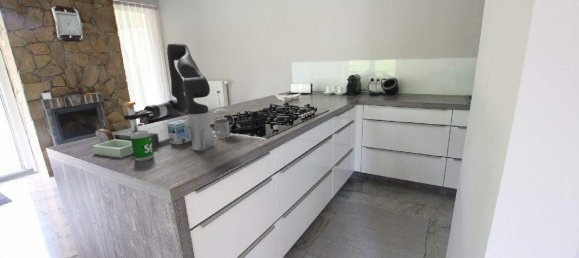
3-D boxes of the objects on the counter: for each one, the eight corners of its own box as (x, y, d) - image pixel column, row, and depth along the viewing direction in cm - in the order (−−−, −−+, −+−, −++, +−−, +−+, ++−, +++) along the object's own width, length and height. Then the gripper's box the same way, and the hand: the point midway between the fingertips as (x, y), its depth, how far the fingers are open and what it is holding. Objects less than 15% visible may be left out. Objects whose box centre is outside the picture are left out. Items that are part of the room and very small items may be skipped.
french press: (215, 134, 156) (210, 90, 150) (235, 132, 158) (231, 88, 151) (212, 139, 147) (207, 92, 141) (234, 137, 148) (230, 90, 142)
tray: (142, 149, 133) (140, 142, 132) (121, 157, 123) (119, 149, 122) (116, 146, 140) (114, 139, 139) (94, 153, 130) (92, 145, 129)
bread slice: (116, 146, 141) (113, 130, 139) (109, 147, 139) (106, 131, 137) (102, 142, 149) (99, 127, 147) (96, 143, 147) (92, 128, 145)
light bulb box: (178, 145, 139) (175, 124, 136) (169, 143, 142) (166, 123, 139) (194, 139, 148) (192, 119, 145) (186, 138, 151) (183, 118, 148)
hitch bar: (159, 145, 140) (157, 133, 138) (147, 149, 134) (145, 137, 132) (128, 141, 148) (126, 130, 147) (116, 145, 142) (114, 134, 140)
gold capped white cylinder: (144, 138, 141) (137, 102, 137) (136, 141, 137) (128, 103, 132) (137, 138, 143) (130, 101, 138) (129, 140, 139) (121, 103, 134)
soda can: (141, 163, 115) (136, 135, 112) (131, 160, 119) (126, 133, 116) (157, 157, 122) (153, 131, 119) (147, 154, 126) (143, 129, 123)
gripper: (145, 104, 151) (115, 109, 136) (164, 104, 146) (135, 110, 131) (147, 117, 153) (118, 124, 138) (166, 118, 148) (138, 126, 133)
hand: (127, 117), depth 134 cm, fingers closed on gold capped white cylinder, 2 cm apart
